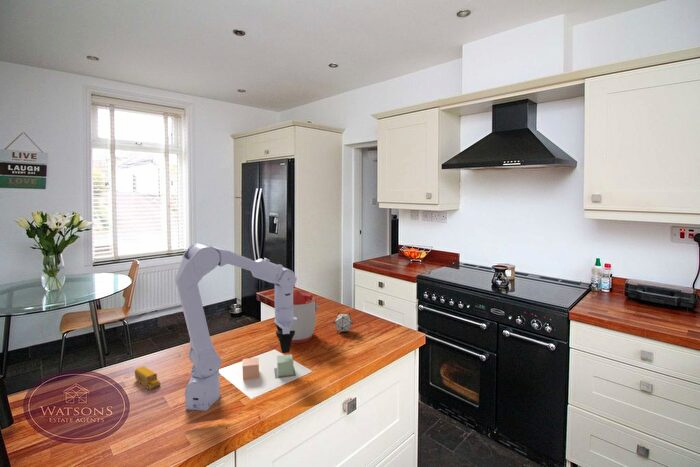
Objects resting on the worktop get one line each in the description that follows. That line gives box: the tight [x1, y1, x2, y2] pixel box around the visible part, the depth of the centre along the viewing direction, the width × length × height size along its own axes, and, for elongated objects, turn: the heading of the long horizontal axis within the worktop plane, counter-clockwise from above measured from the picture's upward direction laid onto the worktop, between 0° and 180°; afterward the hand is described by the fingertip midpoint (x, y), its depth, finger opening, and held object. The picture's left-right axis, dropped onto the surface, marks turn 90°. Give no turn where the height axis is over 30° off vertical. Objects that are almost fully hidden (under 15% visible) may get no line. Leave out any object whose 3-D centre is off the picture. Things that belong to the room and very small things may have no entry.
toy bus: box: [134, 365, 161, 391], centre depth 107 cm, size 3×10×4 cm, turn 54°
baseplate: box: [219, 348, 313, 400], centre depth 113 cm, size 22×22×1 cm
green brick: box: [277, 353, 294, 377], centre depth 112 cm, size 5×5×4 cm
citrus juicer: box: [290, 290, 321, 344], centre depth 139 cm, size 16×17×20 cm
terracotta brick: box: [242, 357, 259, 380], centre depth 110 cm, size 5×5×4 cm
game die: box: [332, 312, 355, 334], centre depth 148 cm, size 9×8×10 cm
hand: (284, 347), depth 112 cm, fingers open, 7 cm apart
